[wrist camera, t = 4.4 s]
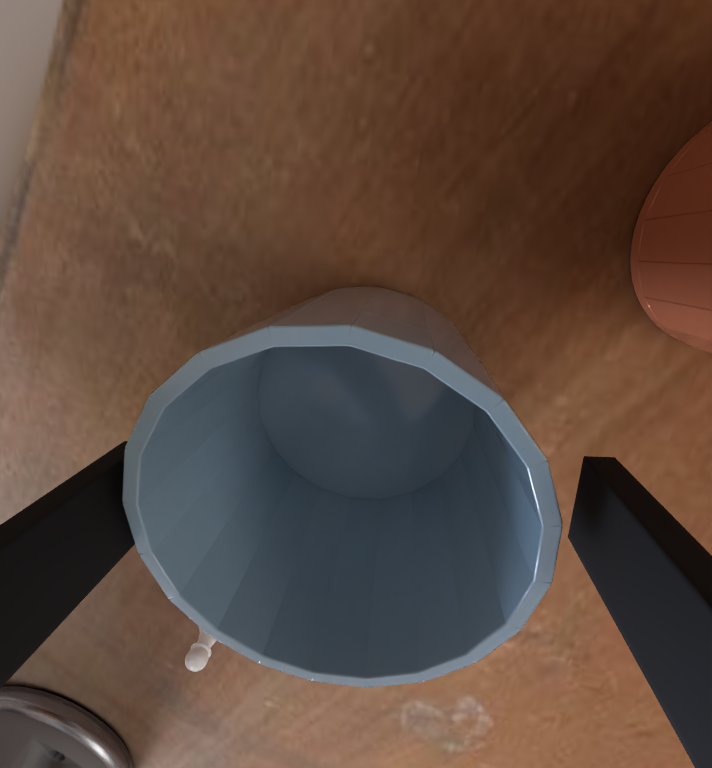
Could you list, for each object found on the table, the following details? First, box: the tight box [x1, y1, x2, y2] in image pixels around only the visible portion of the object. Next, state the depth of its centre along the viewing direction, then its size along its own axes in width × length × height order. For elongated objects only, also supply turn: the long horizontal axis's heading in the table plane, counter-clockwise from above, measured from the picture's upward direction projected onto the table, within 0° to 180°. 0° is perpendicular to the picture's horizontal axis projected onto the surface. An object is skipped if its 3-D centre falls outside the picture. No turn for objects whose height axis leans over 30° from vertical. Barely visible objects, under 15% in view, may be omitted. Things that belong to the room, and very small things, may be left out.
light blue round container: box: [122, 286, 562, 687], centre depth 13 cm, size 11×11×9 cm
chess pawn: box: [185, 627, 217, 672], centre depth 22 cm, size 3×3×4 cm
